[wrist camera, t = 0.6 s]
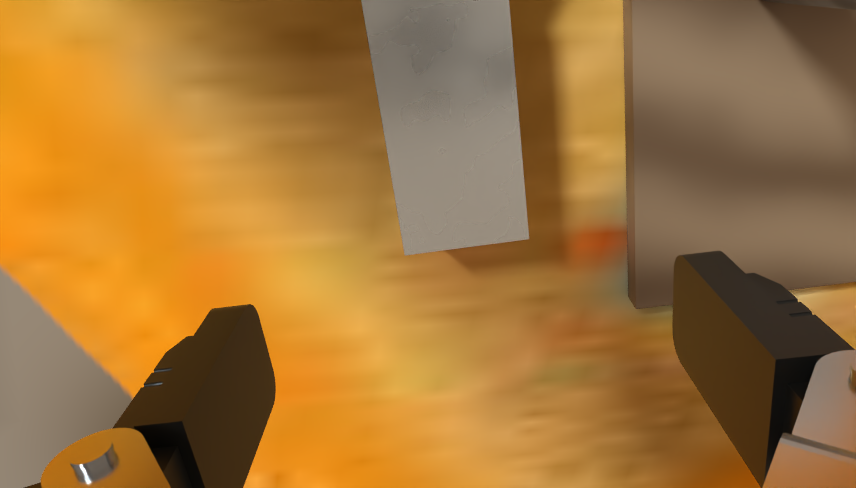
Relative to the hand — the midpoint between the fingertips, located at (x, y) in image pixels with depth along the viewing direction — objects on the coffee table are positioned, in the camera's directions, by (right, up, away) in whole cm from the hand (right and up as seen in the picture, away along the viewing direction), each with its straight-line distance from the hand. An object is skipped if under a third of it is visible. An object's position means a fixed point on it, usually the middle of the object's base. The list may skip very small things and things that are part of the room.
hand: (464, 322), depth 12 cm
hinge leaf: (0, +10, +14) cm, 17 cm away
